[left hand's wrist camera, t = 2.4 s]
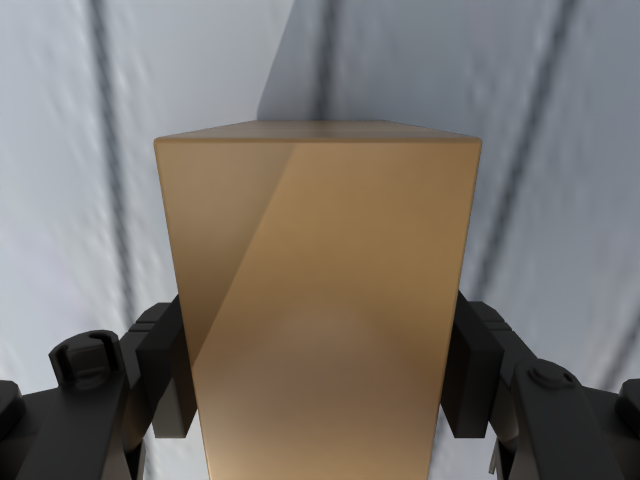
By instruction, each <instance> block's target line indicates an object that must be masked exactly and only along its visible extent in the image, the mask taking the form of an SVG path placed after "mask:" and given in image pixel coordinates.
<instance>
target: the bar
mask: <svg viewBox="0 0 640 480" xmlns="http://www.w3.org/2000/svg"><path fill="white" fill-rule="evenodd" d="M481 147H482V140H481V139H480V138H477V137H473V136H467V135H462V134H456V133H451V132H445V131H439V130H434V129H428V128H423V127H417V126H412V125H406V124H401V123H395V122H390V121H384V120H254V121H248V122H243V123H237V124H231V125H226V126H220V127H214V128H209V129H203V130H197V131H191V132H186V133H180V134H174V135H169V136H163V137H158V138H156V139H155V140H154V149H155V155H156V161H157V167H158V173H159V179H160V185H161V191H162V198H163V204H164V210H165V216H166V222H167V228H168V234H169V240H170V246H171V252H172V258H173V264H174V270H175V276H176V282H177V288H178V294H179V300H180V306H181V312H182V318H183V324H184V330H185V336H186V342H187V348H188V354H189V360H190V366H191V372H192V378H193V384H194V390H195V396H196V402H197V408H198V414H199V420H200V426H201V432H202V438H203V444H204V450H205V456H206V462H207V468H208V474H209V480H428V474H429V468H430V462H431V455H432V449H433V443H434V437H435V431H436V425H437V418H438V412H439V406H440V400H441V394H442V388H443V381H444V375H445V369H446V363H447V357H448V351H449V344H450V338H451V332H452V326H453V320H454V314H455V307H456V301H457V295H458V289H459V283H460V277H461V270H462V264H463V258H464V252H465V246H466V240H467V233H468V227H469V221H470V215H471V209H472V203H473V196H474V190H475V184H476V178H477V172H478V166H479V159H480V153H481Z"/></svg>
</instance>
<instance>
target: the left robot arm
mask: <svg viewBox="0 0 640 480" xmlns="http://www.w3.org/2000/svg"><path fill="white" fill-rule="evenodd" d="M48 355H49V358H50V361H51V364H52V367H53V370H54V373H55V376H56V379H57V381H58V384H59V386H58V388H54V389H50V390H45V391H40V392H36V393H31V394H27V395H21V392H20V390H19V387H18V385H17V384H16V383H14V382H13V381H6V380H0V480H143V472H144V463H145V455H146V449H145V443H144V439H143V437H144V435H145V433H146V431H147V429H148V428H149V426H150V424H151V422H152V425H153V430H154V434H155V438H186V435H187V433H188V430H189V428H190V425H191V423H192V421H193V418H194V416H195V413H196V411H197V402H196V396H195V390H194V384H193V378H192V372H191V366H190V360H189V354H188V348H187V342H186V336H185V330H184V324H183V318H182V312H181V306H180V300H179V294H178V295H177V296H176V297H175V299H174V300H173V301H172V302H171V303H157V304H155V305H154V306H152V307H151V308H149V309H148V310H146V311H144V313H143V314H142V315H141V316H140V317H139V318H138V320H137V321H136V324H133V325H132V326H131V328H130V329H129V330H128V332H126V333H125V335H124V336H123V337H122V338H121V339H120V340H119V339H118V335H117V334H115V333H114V332H113V331H108V330H94V331H89V332H85V333H81V334H78V335H75V336H73V337H71V338H69V339H66V340H65V341H63V342H62V343H60V344H59V345H57V346H56V347H55V348H54V349H53V350H52V351H51V352H50V353H49V354H48ZM440 403H441V406H442V408H443V411H444V413H445V416H446V418H447V421H448V423H449V425H450V428H451V430H452V433H453V435H454V438H485V434H486V430H487V425H488V421H489V422H490V424H491V426H492V428H493V429H494V431H495V433H496V435H497V439H496V443H495V447H494V451H493V455H492V459H491V463H490V467H489V473H490V474H493V475H494V471H495V467H496V471H497V480H640V379H629V380H627V381H626V382H624V383H623V385H622V387H621V390H620V392H619V394H616V393H611V392H607V391H602V390H597V389H593V388H588V387H584V386H582V385H581V384H580V382H579V381H578V379H577V378H576V377H575V376H574V375H573V374H572V373H570V372H569V371H568V370H566V369H565V368H563V367H561V366H559V365H557V364H555V363H553V362H550V361H546V360H543V359H538V358H537V357H536V356H535V355H534V354H533V352H532V351H531V350H530V349H529V348H528V347H527V346H526V344H525V343H524V342H523V341H522V340H521V339H520V338H519V336H518V335H517V334H516V333H515V332H514V331H512V328H511V327H510V326H509V325H508V324H507V323H506V322H505V320H504V319H503V318H502V317H501V316H500V315H499V313H498V312H497V311H496V310H495V309H493V308H491V307H490V306H488V305H487V304H485V303H483V302H468V301H467V300H466V299H465V297H464V296H463V295H462V293H461V292H460V291H459V289H458V295H457V301H456V307H455V314H454V320H453V326H452V332H451V338H450V344H449V351H448V357H447V363H446V369H445V375H444V381H443V388H442V394H441V400H440Z"/></svg>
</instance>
